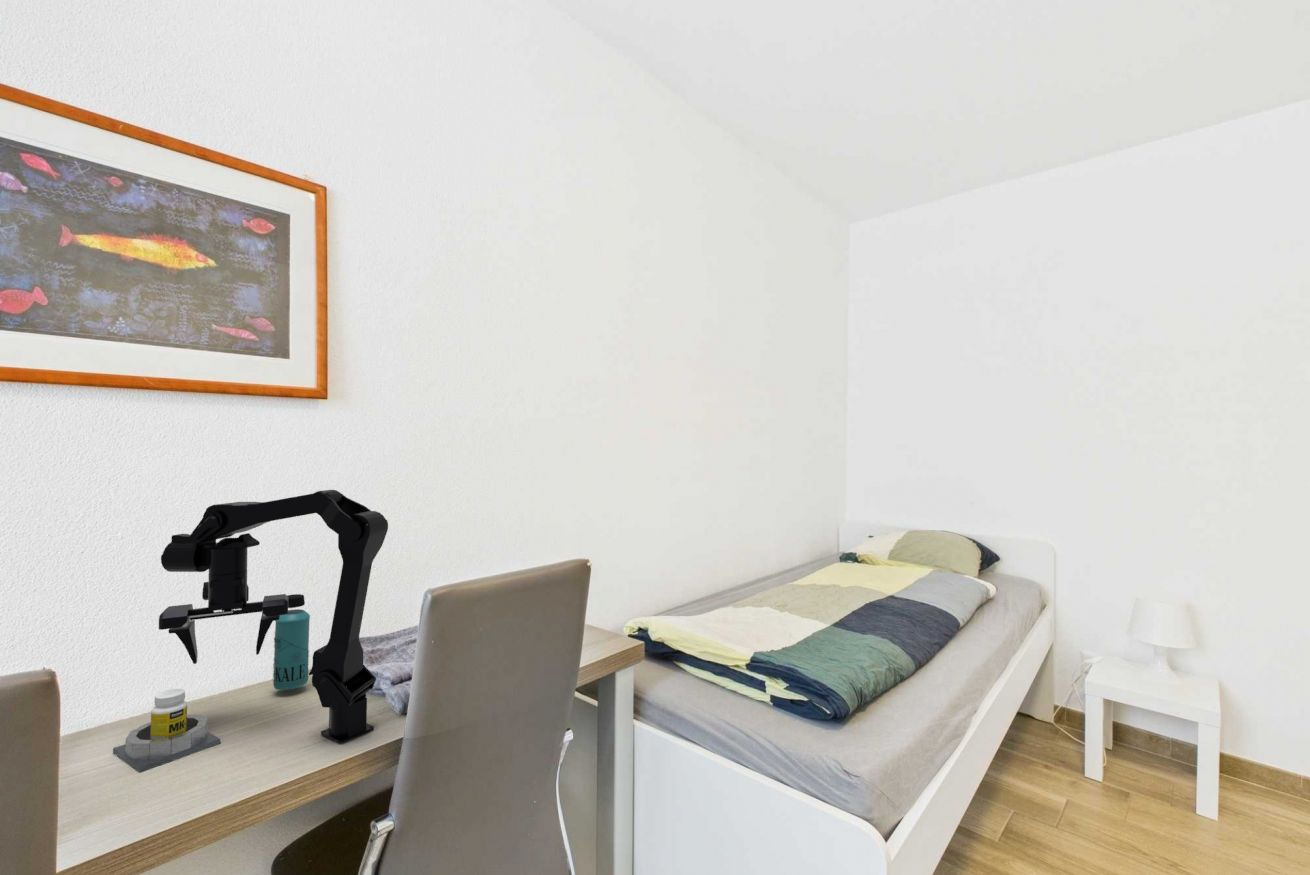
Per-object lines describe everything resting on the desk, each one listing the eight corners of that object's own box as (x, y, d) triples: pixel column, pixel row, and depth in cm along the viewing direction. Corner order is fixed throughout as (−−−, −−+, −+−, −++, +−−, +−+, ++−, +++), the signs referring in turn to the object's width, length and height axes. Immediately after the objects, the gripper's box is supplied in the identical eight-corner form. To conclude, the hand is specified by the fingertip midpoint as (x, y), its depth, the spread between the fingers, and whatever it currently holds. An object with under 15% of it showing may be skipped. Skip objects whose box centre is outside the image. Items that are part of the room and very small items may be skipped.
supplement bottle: (170, 750, 98) (171, 699, 98) (142, 750, 98) (143, 698, 98) (193, 736, 103) (194, 687, 103) (166, 736, 103) (167, 687, 103)
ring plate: (220, 743, 102) (220, 723, 102) (139, 772, 93) (140, 751, 93) (191, 727, 108) (192, 708, 108) (113, 753, 98) (113, 732, 99)
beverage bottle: (294, 683, 128) (296, 590, 129) (316, 688, 126) (318, 593, 126) (264, 694, 122) (267, 597, 123) (286, 700, 120) (289, 600, 120)
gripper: (289, 560, 120) (288, 638, 119) (171, 569, 110) (170, 654, 110) (288, 569, 110) (287, 654, 110) (158, 581, 101) (157, 673, 100)
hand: (227, 658), depth 108 cm, fingers open, 9 cm apart
